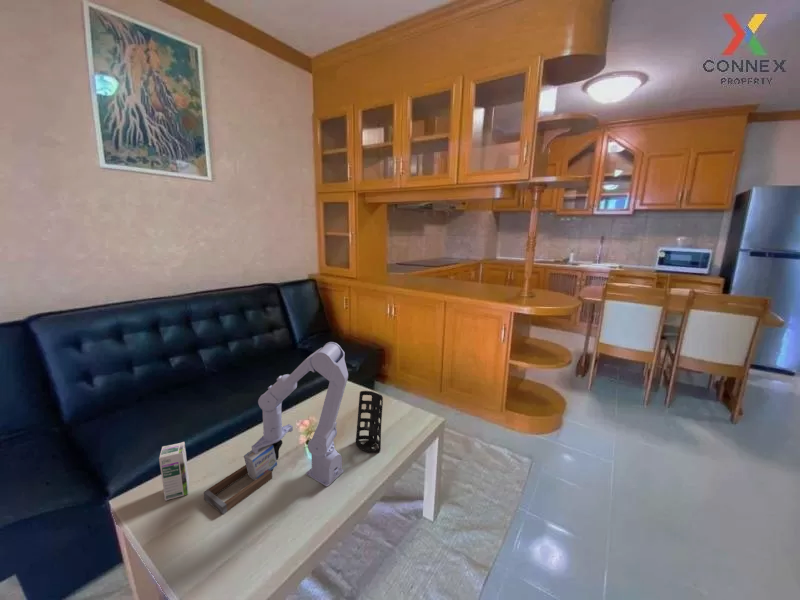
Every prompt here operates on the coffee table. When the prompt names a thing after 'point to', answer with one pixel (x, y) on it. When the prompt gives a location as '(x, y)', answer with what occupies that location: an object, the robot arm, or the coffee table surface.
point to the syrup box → (174, 470)
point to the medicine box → (260, 461)
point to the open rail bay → (238, 497)
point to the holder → (373, 420)
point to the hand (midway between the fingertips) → (274, 459)
